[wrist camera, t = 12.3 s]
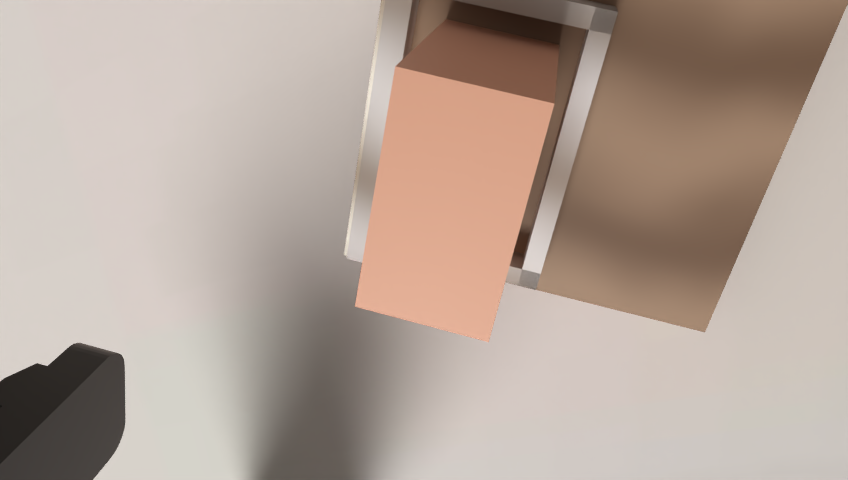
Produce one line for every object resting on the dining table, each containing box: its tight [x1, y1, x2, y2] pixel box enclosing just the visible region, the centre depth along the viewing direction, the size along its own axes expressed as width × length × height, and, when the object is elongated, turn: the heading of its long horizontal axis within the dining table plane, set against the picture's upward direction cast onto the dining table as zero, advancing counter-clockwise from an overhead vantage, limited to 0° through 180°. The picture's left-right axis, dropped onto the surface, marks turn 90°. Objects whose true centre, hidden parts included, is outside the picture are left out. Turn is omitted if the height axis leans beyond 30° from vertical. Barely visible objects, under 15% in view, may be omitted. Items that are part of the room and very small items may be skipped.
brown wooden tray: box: [344, 0, 848, 332], centre depth 27 cm, size 24×16×4 cm
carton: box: [355, 19, 559, 342], centre depth 25 cm, size 5×8×9 cm, turn 169°
